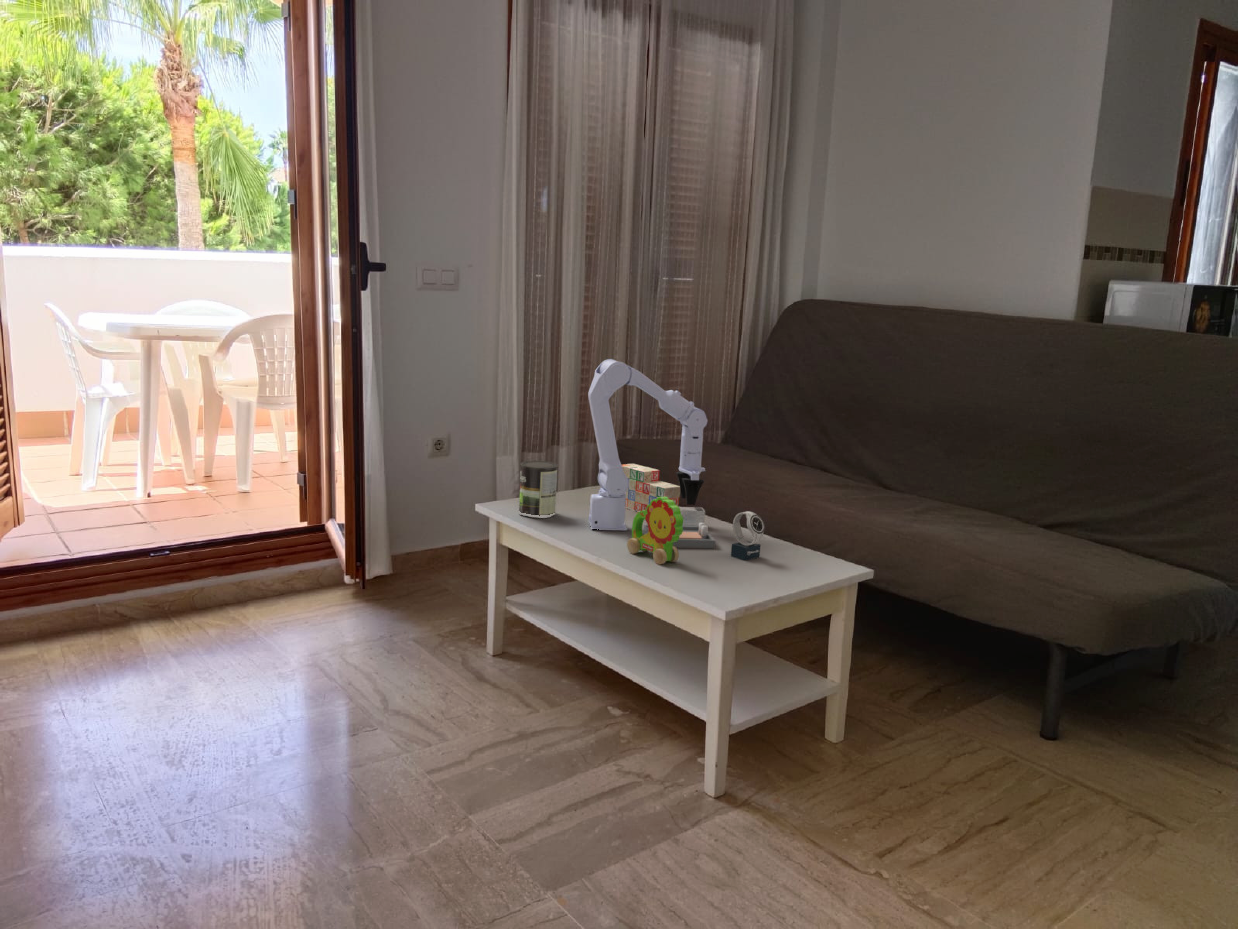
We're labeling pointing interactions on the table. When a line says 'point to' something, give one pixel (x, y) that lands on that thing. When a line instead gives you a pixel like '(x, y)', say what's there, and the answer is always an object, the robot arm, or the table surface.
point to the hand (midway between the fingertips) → (688, 501)
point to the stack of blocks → (647, 487)
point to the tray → (692, 537)
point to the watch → (743, 547)
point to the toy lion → (658, 530)
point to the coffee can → (538, 487)
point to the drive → (692, 515)
